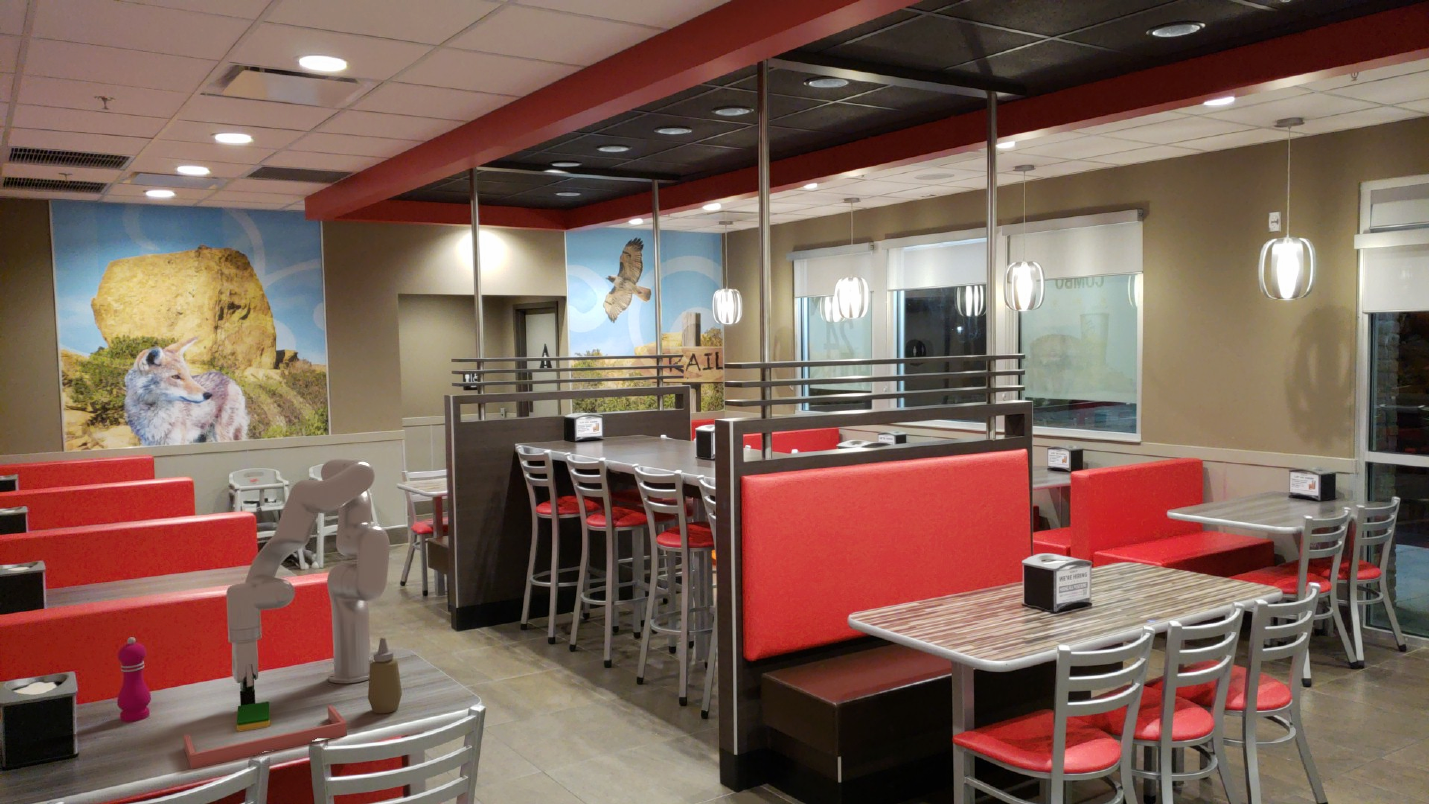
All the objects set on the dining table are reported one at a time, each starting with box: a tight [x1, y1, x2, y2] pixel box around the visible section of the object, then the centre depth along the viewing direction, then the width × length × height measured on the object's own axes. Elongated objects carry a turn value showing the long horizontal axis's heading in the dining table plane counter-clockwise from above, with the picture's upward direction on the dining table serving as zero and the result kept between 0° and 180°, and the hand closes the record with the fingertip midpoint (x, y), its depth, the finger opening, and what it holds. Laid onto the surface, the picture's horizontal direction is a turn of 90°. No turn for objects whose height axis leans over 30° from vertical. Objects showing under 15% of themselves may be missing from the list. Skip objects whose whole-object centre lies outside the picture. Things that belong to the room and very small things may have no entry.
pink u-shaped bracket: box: [183, 705, 348, 770], centre depth 228 cm, size 32×14×3 cm, turn 123°
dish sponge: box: [236, 701, 271, 732], centre depth 243 cm, size 7×14×2 cm, turn 24°
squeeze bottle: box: [367, 637, 403, 714], centre depth 247 cm, size 8×8×18 cm
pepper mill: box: [116, 636, 152, 723], centre depth 246 cm, size 7×7×20 cm
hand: (248, 705), depth 251 cm, fingers closed
